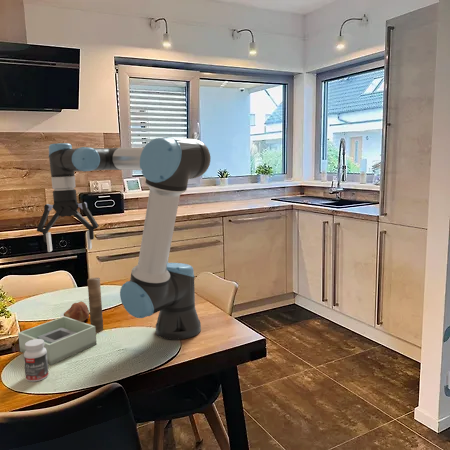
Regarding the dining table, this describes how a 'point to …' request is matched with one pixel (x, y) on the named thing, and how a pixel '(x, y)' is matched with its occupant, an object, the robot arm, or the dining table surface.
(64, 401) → the dining table surface
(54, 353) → the bin
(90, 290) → the peg
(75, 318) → the fossil
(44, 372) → the pill bottle
